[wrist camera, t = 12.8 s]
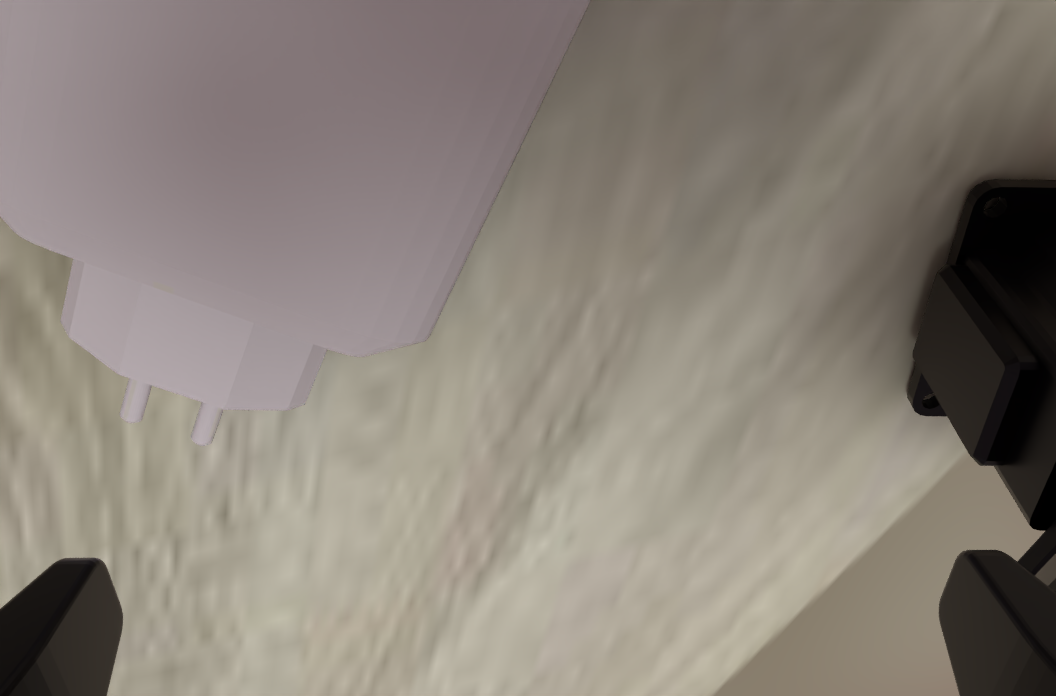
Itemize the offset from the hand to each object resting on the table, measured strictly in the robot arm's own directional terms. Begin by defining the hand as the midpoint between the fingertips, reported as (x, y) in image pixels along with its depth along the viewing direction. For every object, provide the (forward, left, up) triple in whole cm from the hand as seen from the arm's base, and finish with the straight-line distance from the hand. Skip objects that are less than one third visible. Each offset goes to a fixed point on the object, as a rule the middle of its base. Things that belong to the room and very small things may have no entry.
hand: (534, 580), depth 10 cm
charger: (+6, 0, -14) cm, 15 cm away
